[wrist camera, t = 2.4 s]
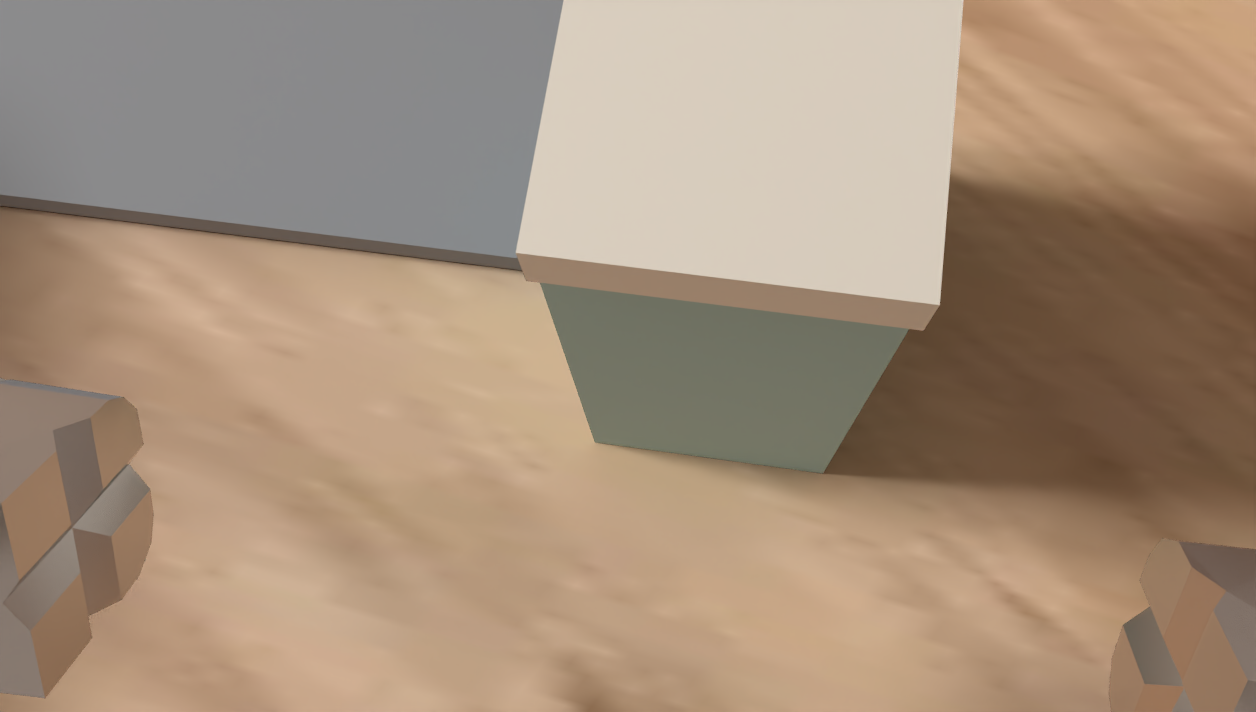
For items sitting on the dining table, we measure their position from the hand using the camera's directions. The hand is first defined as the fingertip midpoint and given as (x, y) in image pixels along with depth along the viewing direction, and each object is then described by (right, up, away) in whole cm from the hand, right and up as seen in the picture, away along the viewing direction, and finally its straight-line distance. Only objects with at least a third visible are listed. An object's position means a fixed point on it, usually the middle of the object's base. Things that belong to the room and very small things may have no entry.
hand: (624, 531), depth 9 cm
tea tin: (+2, +2, +12) cm, 12 cm away
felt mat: (-7, +9, +14) cm, 18 cm away
